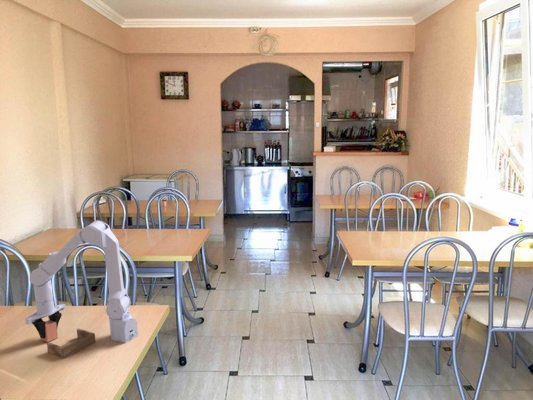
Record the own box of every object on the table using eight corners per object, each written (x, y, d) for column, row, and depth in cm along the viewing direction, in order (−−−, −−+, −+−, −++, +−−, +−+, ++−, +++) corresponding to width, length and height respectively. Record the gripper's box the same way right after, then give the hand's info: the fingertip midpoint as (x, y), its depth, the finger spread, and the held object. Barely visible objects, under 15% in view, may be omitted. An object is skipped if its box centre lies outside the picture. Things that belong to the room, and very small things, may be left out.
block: (57, 337, 165) (56, 322, 164) (47, 342, 161) (45, 326, 160) (50, 335, 167) (49, 319, 166) (40, 339, 163) (39, 324, 162)
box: (95, 343, 161) (94, 333, 160) (64, 360, 150) (63, 349, 150) (79, 338, 165) (78, 328, 165) (48, 354, 155) (46, 343, 154)
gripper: (55, 291, 170) (59, 324, 172) (18, 304, 158) (22, 341, 160) (67, 294, 166) (71, 328, 169) (30, 308, 154) (35, 345, 156)
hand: (48, 335), depth 164 cm, fingers closed on block, 4 cm apart
